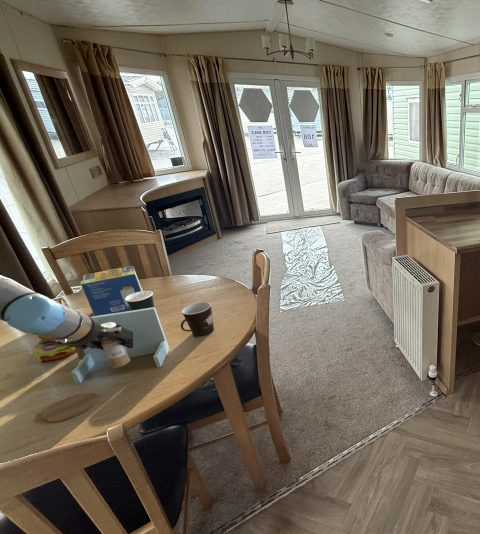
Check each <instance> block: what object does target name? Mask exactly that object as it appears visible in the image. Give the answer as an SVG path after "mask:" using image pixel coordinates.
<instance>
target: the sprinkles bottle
mask: <svg viewBox="0 0 480 534" xmlns="http://www.w3.org/2000/svg"><path fill="white" fill-rule="evenodd" d="M101 326H106V327H108V328H113V327H114V326H116V324H115V323H112V322H110V323H105V324H102V325H101ZM101 344H102V346H103V349H104V351H105V353H106V355H107V358H108V359H109V361H110V362H109V363H110V367H111V368H121V367H123V366H125V365H127V364H129V363H130V362H131V358H129V356H128V354H127V351H126V348H125V346H122V345H120V344H119V342H113V341H108V340H106V341H101Z"/></svg>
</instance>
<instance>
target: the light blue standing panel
mask: <svg viewBox="0 0 480 534" xmlns="http://www.w3.org/2000/svg"><path fill="white" fill-rule="evenodd" d="M91 317H92V318H94V319H96V320H97V321H98V322H99V323H100V325H102V324H105V323H110V322H112V323H115V324H116V325H118V324H120V325H122V327H123V328H125V329H127V330H129V331H131V332H133V348H128V347H125V348H126V351H127V354H128V356H129V358H130V359H131V358H136V357H140V356H147V355H152V354H154V355H153V360H154V363H155V365H156V368H161V367H162V366H163V363H164V361H165V360H166V356H167V355H168V353H169V350H170V346H169V343H168V341H167V337H166V335H165V332H164V329H163V326H162V323H161V320H160V318H159V314H158V311H157V309H156V308H155V306H154V308H147V309H140V310H134V311H127V312H120V313H114V314H107V315H100V316H94V315H93V316H91ZM96 341H97V340H96ZM83 350H84V352H85V354H86V355H85V356H84V358H83V359H80V361H79V363H78V364H77V365H76V366H75V368H74V369H73V370H72V371H71V373H70V374H71V377H72V378H73V380H74V382H75V384H76V385H80V384H82V382H83V381H84V379H86V377H87V376H88V374H89V373H90V372H91V370H92V369H93V368H94V367H95V365H99V364H105V363H110V361H109V359H108V358H107V355H106V353H105V351H104V350H101V349H97V348H89V347H87V349H83Z"/></svg>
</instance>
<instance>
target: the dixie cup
mask: <svg viewBox="0 0 480 534" xmlns="http://www.w3.org/2000/svg"><path fill="white" fill-rule="evenodd" d="M153 295H154V293H153V291H151V290H142V291H141V292H136V293H133V294H131V295H128V296H127V297H126V298H125V301H127V303H128V304H129V306H130V308H131V310H132V311H134V310H140V309H147V308H154V307H155V303H154V302H155V301H154V297H153Z"/></svg>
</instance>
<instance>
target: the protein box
mask: <svg viewBox="0 0 480 534" xmlns="http://www.w3.org/2000/svg"><path fill="white" fill-rule="evenodd" d="M80 286H81V288H82V291H83V293H84V295H85V298H86V300H87V302H88V304H89V306H90V309H91V312H92V314H93V316H100V315H107V314H114V313H120V312H127V311H132V310H131V308H130V306H129V304H128V303H127V301H125V298H126V297H127V296H128V295H131V294H133V293H136V292H141V291H143V288H142V286H141V283H140V280H139V278H138V275H137V273H136V269H135V267H134V266H133V265H128V266H123V267H118V268H113V269H108V270H103V271H97V272H93V273H87V274H81V277H80Z"/></svg>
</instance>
